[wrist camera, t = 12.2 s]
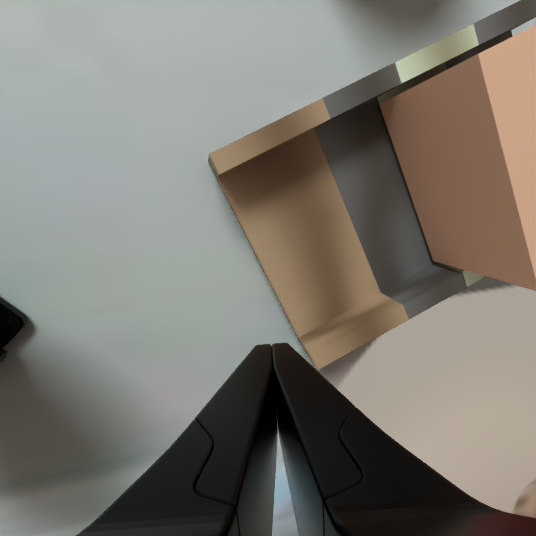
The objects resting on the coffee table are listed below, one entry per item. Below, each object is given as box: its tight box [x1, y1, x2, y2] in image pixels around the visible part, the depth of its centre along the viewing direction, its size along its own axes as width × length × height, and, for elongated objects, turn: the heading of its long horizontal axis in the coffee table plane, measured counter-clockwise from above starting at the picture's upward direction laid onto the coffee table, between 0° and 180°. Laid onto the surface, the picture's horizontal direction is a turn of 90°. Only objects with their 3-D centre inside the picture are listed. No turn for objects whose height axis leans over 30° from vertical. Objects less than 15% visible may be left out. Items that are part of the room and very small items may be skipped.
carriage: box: [379, 25, 536, 291], centre depth 17 cm, size 6×10×7 cm, turn 26°
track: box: [208, 0, 536, 370], centre depth 20 cm, size 19×13×4 cm
